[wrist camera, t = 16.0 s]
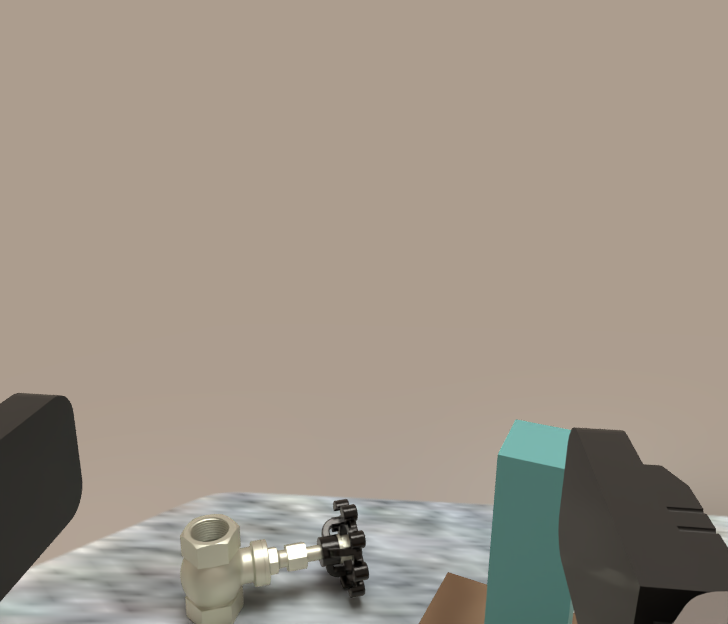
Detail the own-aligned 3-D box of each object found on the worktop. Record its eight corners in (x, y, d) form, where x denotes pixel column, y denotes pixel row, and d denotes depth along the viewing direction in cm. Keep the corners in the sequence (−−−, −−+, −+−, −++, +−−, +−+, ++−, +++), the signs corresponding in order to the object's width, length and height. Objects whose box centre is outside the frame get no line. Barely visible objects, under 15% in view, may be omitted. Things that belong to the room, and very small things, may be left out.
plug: (479, 683, 40) (497, 454, 35) (497, 631, 43) (515, 419, 39) (556, 710, 38) (586, 473, 33) (568, 654, 42) (596, 434, 37)
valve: (186, 655, 43) (368, 616, 46) (178, 567, 41) (370, 533, 44) (181, 585, 49) (343, 556, 52) (174, 506, 47) (343, 480, 50)
